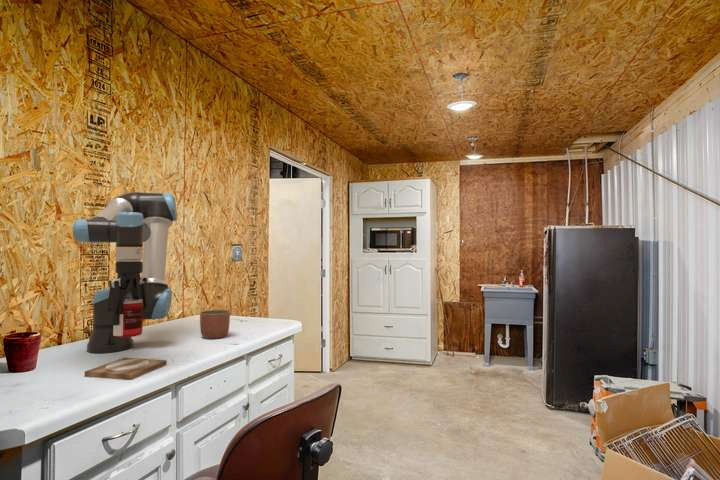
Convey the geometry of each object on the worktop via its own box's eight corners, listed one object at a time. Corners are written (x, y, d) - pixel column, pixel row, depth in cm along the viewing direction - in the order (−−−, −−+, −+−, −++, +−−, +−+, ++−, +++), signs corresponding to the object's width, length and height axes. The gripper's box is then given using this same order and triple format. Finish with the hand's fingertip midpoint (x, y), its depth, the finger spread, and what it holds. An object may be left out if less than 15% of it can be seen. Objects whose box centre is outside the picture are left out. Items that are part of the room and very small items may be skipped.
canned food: (122, 332, 133) (122, 298, 133) (147, 332, 133) (147, 298, 134) (108, 337, 125) (109, 301, 126) (134, 337, 126) (135, 301, 126)
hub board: (84, 376, 123) (84, 370, 123) (124, 361, 139) (124, 356, 139) (131, 379, 120) (131, 373, 120) (166, 364, 136) (166, 358, 136)
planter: (230, 338, 175) (231, 313, 175) (199, 341, 170) (200, 314, 170) (228, 333, 186) (229, 309, 186) (199, 335, 182) (199, 310, 182)
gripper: (114, 261, 119) (113, 340, 119) (161, 260, 139) (160, 327, 139) (92, 261, 121) (91, 339, 120) (141, 259, 141) (140, 326, 140)
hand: (128, 332), depth 129 cm, fingers closed on canned food, 8 cm apart
